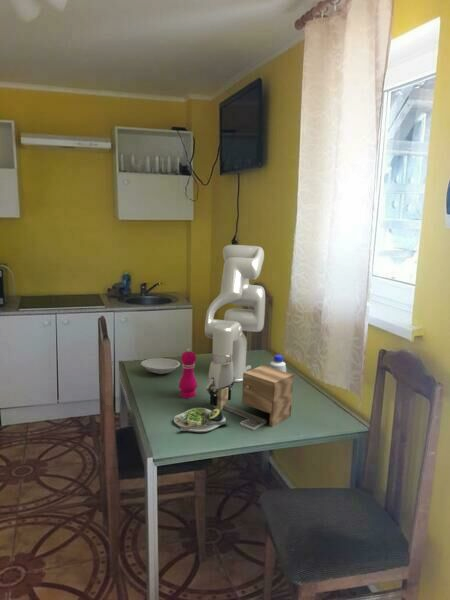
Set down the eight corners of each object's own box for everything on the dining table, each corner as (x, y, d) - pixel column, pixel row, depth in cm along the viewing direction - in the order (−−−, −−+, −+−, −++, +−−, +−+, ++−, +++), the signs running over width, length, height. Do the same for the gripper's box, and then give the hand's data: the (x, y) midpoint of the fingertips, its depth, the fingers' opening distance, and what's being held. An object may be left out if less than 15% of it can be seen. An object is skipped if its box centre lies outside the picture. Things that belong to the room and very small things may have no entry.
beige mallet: (219, 404, 196) (220, 384, 194) (268, 422, 181) (269, 401, 180) (213, 407, 193) (213, 387, 191) (261, 426, 178) (262, 405, 177)
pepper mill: (194, 399, 199) (195, 351, 195) (176, 397, 200) (177, 349, 196) (198, 393, 206) (200, 346, 202) (181, 391, 207) (182, 344, 203)
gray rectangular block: (250, 421, 183) (250, 417, 183) (263, 426, 179) (263, 422, 179) (240, 426, 179) (240, 422, 178) (253, 431, 175) (253, 427, 175)
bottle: (285, 401, 201) (288, 353, 197) (281, 407, 194) (285, 358, 190) (269, 398, 203) (272, 351, 199) (265, 405, 197) (268, 356, 193)
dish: (181, 369, 234) (181, 359, 233) (177, 380, 219) (178, 369, 218) (144, 367, 234) (144, 357, 233) (137, 378, 220) (137, 367, 219)
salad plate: (197, 442, 165) (197, 429, 164) (160, 425, 177) (161, 412, 176) (234, 424, 180) (235, 412, 179) (199, 409, 191) (199, 398, 190)
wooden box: (260, 405, 196) (262, 365, 193) (290, 416, 187) (293, 374, 184) (239, 415, 186) (241, 373, 183) (269, 427, 177) (272, 383, 174)
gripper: (229, 350, 198) (227, 393, 201) (199, 360, 185) (197, 405, 188) (244, 355, 193) (242, 398, 197) (214, 365, 180) (212, 411, 184)
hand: (220, 401), depth 192 cm, fingers open, 7 cm apart
